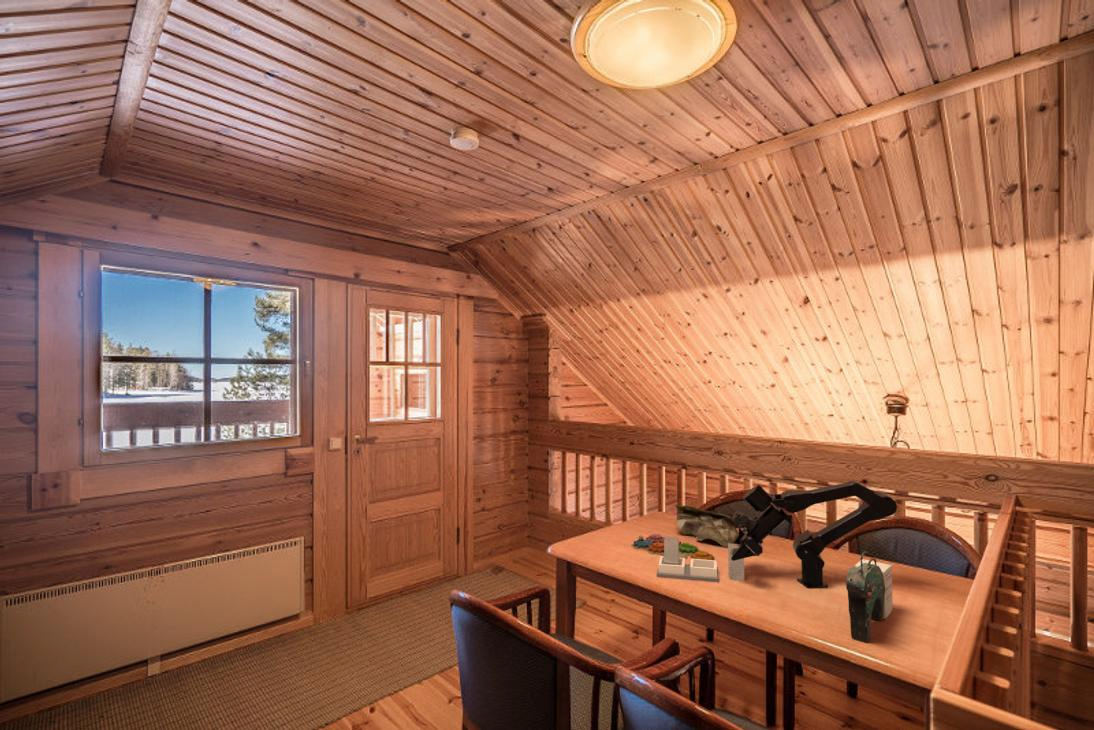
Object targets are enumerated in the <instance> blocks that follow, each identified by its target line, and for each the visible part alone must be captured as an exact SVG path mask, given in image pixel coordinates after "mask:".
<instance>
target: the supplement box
mask: <svg viewBox="0 0 1094 730" xmlns="http://www.w3.org/2000/svg"><path fill="white" fill-rule="evenodd" d="M869 561H870V559H865V558H863V559H862V564H863V563H868V562H869ZM870 564H874V565H875V562H874V560H872V561H871V563H870ZM860 565H861V559H860V560H859V561H858V562H857V563H856V564H855V565H854V567H856V568H858V567H859V566H860ZM876 565H877V566H879V567H880V569H881V571H882V574H883V579H884V584H885V598H884V609H883V619H882V620H886V619H887V618H888V617H889V616H890V614H891V613H892V612H893V565H892V564H887V563H884V562H879V561H878V562H877V561H876Z"/></svg>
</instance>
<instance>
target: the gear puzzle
mask: <svg viewBox="0 0 1094 730" xmlns="http://www.w3.org/2000/svg"><path fill="white" fill-rule="evenodd" d="M664 538H665V536H662V535H660V534H658V533H654V534H653V533H652V534H650V535H649V536H646V537H645V539H644V536H643V535H638V537H637V539H636V540H633V544H631V545H630V546H631V547H633V549H634V550H642V551H645V552H648V554H649V555H657V556H664ZM689 556H690V558H691V559H703V560H714V559H715V556H714V555H713V554H712V553H709V552H708V551H705V550H704V551H702V550H700V549H698V546H695V545H693V544H691V543H689V542H686V543H685V542H681V541H679V558H685V560H688V558H689Z"/></svg>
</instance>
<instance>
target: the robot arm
mask: <svg viewBox="0 0 1094 730" xmlns="http://www.w3.org/2000/svg"><path fill="white" fill-rule="evenodd" d="M851 497H856V498H858V499H859V500H862V501H863V502H862V503H861V504H860V505H859V507H858V508H856V509H855V510H853V511H851V512H850V513H848V514H846V515H844V516H842V517H840V518H839V519H837V520H835V521H834V522H832V523H830V524H828V525H827V526H826V527H823V528H822V529H820V530H819V531H817V532H816V531H814V532H810V530H809V529H805V530H804V531H803V532H802V533H800V534H796V536H795V537H796V538H794V539H793V542H792V549H793V550H794V553H795V555H796V557H797V559H799V560H800V561H801V563H800V564H801V566H800V567H801V577H797V578H796V580H797V582H799V583H800V584H801V585H803V586H804V587H806V588H807V589H813V588H828V587H829V585H828V584H827V583H825V582H824V580H823V579H824V578H823V577H824V576H823V574H824V571H823V569H824V566H825V561H824V559H823V557H822V556H821V554H822V553H823V551H824V550H825V549H826V548H827V547H828V545H830V544H832V543H834V542H835V541H838V540H839V539H841V538H843V537H844V536H846V535H848V534H850V533H851V532H853V531H854V530H855V531H856V530H857V529H858V528H860V527H862V526H864V525H865V524H867V523H870V522H873V521H878V520H882V519H885V518H889V517H890V516H893V515H894V514H895V513H896V512H897V509H898V505H897V504H898V503H897V502H896V500H895V499H893V497H890V496H889V495H888V494H886V493H885V492H883V491H874V490H872V489H870V488H868V487H867V486H864V485H862V484H860V482H858V481H857V480H850V481H847V482H843V483H838V484H833V485H828V486H823V487H819V488H814V489H809V490H807V489H806V490H804V489H803V490H802V489H792V490H791V489H789V490H783V491H782V492H781V493H777V494H776V493H775V494H770V493H768V492H767V491H766V490H765V489H764V488H763V486H762V485H761V484H759V483H758V484H756V486H753V487H752V488H749V489H748V490H747V491H746V492H745V493H744V495H743V496H742V499H743V500H744V501H745V502H746V503H747V504H748V505H749V506H750V507H751V508H752V509H754V511H755V512H760V513H761V514H760V515H759V516H758V515H754V517H751V516H750V515H748V514H746V513H744V512H742V511H740V510H737V509H736V510H735V511H734V514H733V516H732V517H731V518H732V519H733V522H734V523H736V524H739V526H740V527H738V528H737V530H738V533H739V534H738V536H737V538H735V540H734V542H733V544H741V545H740V547H739V548H738V549H737V551H736V552H735V553H734V554H733V556H732V557H731V559H732V560H733V561H735V560H739V559H743V558H744V559H745V558H751V557H759V556H761V554H763V552H764V549H763V548H764V547H763V545H762V544H763V543H764V540H765V539H766V538H767V537H768V536H772V535H773V534H774V531H775V530H776V529H777V528H778V527H779V526H781V524H783V523H784V522H785V521H786V522H787V523H788V524H789V525H793V515H792V514H795V513H800V512H801V511H804V510H806V509H809V507H812V506H814V505H817V504H818V505H819V504H822V503H827V502H831V501H838V500H842V499H847V498H851Z"/></svg>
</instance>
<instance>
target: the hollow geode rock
mask: <svg viewBox="0 0 1094 730" xmlns="http://www.w3.org/2000/svg"><path fill="white" fill-rule="evenodd" d="M674 506H675V508H676V509H677V511H679V512H678V513H676V524H677V528H678V530H679V532H681V533H683V535H686V536H687V535H693V536H694V537H695V538H696V539H697V540H698V541H701V542H702V541H705V540H707V539H708V540H712V541H715V542H717V544H720V546H721V547H724V548H727V549H728V543H730V544H733V542H734V541H735V539H736V538H737V536H738V534H739V530H738V527H740V526H739V524H736V523H734V522H733V519H732V518H733V517H731V516H729V515H726V514H722V513H720V512H719V513H717V512H715V511H710V510H706V509H701V508H698V507H694V506H690V505H679V504H678V505H677V504H675V505H674Z"/></svg>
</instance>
